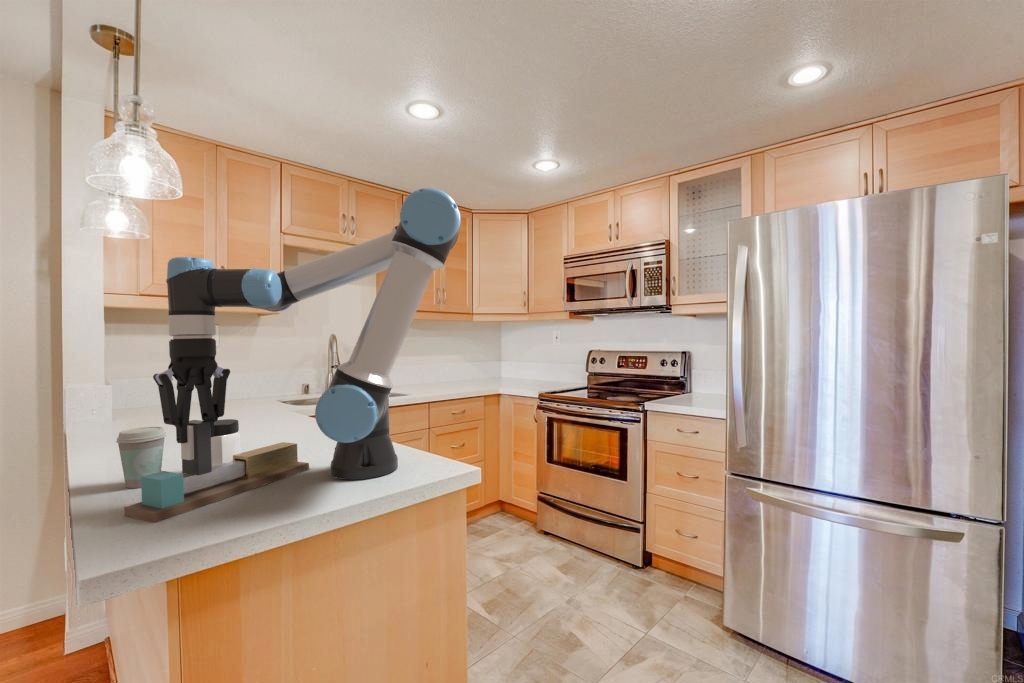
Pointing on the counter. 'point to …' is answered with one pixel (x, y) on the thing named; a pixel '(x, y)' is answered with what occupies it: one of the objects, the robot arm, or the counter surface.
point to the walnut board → (210, 494)
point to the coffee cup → (140, 453)
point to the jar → (225, 441)
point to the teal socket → (162, 489)
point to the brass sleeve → (268, 459)
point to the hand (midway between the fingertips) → (196, 456)
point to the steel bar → (207, 462)
